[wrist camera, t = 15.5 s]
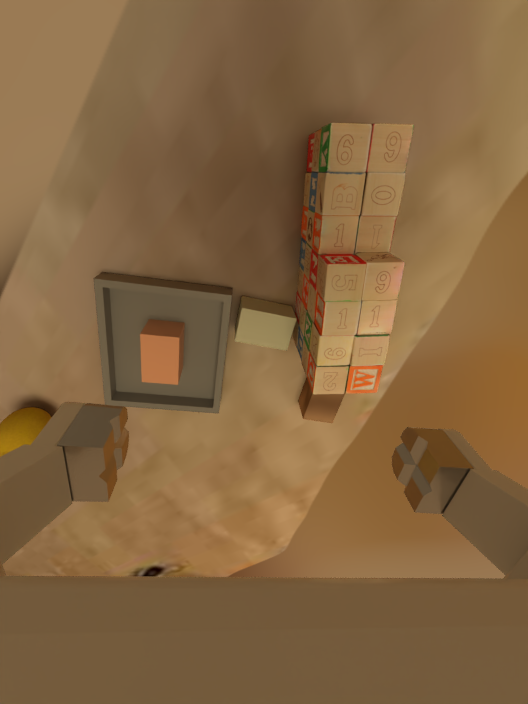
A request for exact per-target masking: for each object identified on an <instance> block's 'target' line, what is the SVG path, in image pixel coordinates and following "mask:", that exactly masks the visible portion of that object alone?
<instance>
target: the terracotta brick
mask: <svg viewBox="0 0 528 704" xmlns="http://www.w3.org/2000/svg"><path fill="white" fill-rule="evenodd" d="M184 327H185V323H183V322H173V321H163V320H154V319H149V320H148V322H147V323H146V325H145V327H144V328H143V330H142V332H141V333H140V345H141V374H142V382H149V383H161V384H174V385H178V383H179V380H180V376H181V373H182V369H183V356H184Z"/></svg>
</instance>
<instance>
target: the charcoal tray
mask: <svg viewBox="0 0 528 704" xmlns="http://www.w3.org/2000/svg"><path fill="white" fill-rule="evenodd" d="M94 289H95V300H96V311H97V322H98V333H99V344H100V355H101V366H102V377H103V388H104V399H105V405H112V406H125V407H138V408H152V409H165V410H179V411H192V412H206V413H219V407H220V398H221V390H222V381H223V372H224V363H225V354H226V345H227V336H228V327H229V318H230V309H231V300H232V288H226V287H218V286H210V285H202V284H194V283H186V282H178V281H170V280H162V279H154V278H146V277H138V276H130V275H122V274H114V273H106V272H102V273H100V274H99V275H98V276H96V277H95V278H94ZM149 319H154V320H163V321H173V322H183V323H185V327H184V356H183V369H182V373H181V376H180V380H179V383H178V385H174V384H161V383H149V382H142V374H141V345H140V333H141V332H142V330H143V328H144V327H145V325H146V323H147V322H148V320H149Z"/></svg>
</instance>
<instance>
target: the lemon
mask: <svg viewBox="0 0 528 704" xmlns="http://www.w3.org/2000/svg"><path fill="white" fill-rule="evenodd" d="M51 418H52V417H51V416H50V415H49V414H48V413H47V412H46V411H44V410H42V409H40V408H35V407H28V408H23V409H20V410H17V411H15V412H13V413H12V414H10V415H9V416H8V417H7V418H5V419H4V420H3V421H2V422H1V424H0V457H1V456H3V455H5V454H7V453H9V452H11V451H13V450H15V449H17V448H18V447H20V446H22V445H31V444H32V443H33V441H34V440H35V439H36V437H37V436H38V435H39V433H40V432H41V431H42V430H43V428H44V427H45V426H46V424H47V423H48V422H49V420H50V419H51Z"/></svg>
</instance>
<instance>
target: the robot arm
mask: <svg viewBox="0 0 528 704" xmlns="http://www.w3.org/2000/svg"><path fill="white" fill-rule="evenodd" d="M127 420H128V414H127V408H126V407H123V406H112V405H102V404H91V403H87V404H86V403H77V402H65V403H63V404H62V405H61V406H60V407H59V409H58V410H57V411H56V413H55V414H54V415H53V416H52V418H51V419H50V420H49V422H48V423H47V424H46V426H45V427H44V428H43V430H42V431H41V432H40V433H39V435H38V436H37V437H36V439H35V440H34V441H33V443H32V444H31V445H22V446H20V447H18V448H17V449H15V450H13V451H11V452H9V453H7V454H5V455H3V456H1V457H0V704H528V489H526V488H525V487H523V486H522V485H520V484H518V483H517V482H515V481H513V480H512V479H510V478H508V477H506V476H505V475H503V474H502V473H500V472H499V471H495V470H492V469H491V468H490V467H489V466H488V465H487V464H486V463H485V462H484V460H483V459H482V458H481V457H480V456H479V455H478V453H477V452H476V451H475V450H474V449H473V448H472V446H471V445H470V444H469V443H468V442H467V441H466V439H465V438H464V437H463V436H462V435H461V434H460V433H459V432H457V431H456V430H453V429H426V428H411V427H407V428H406V429H405V430H404V431H403V433H402V435H401V440H402V442H403V443H402V444H400V445H399V446H398V447H396V448H395V451H394V453H393V456H392V467H393V471H394V474H395V476H396V478H397V480H399V481H400V482H401V483H402V484H404V485H405V490H404V493H405V495H406V497H407V499H408V501H409V503H410V504H411V506H412V508H413V510H414V512H420V513H434V514H443V515H442V516H443V517H444V518H445V519H446V520H447V521H448V522H450V523H451V524H452V525H453V526H454V527H455V528H456V529H457V530H458V531H459V532H460V533H461V534H462V535H463V536H465V538H467V539H468V540H469V541H470V542H471V543H472V544H473V545H474V546H475V547H476V548H477V549H478V550H479V551H480V552H481V553H482V554H483V555H485V556H486V557H487V558H488V559H489V560H490V561H491V562H492V563H493V564H494V565H495V566H496V567H497V568H498V569H499V570H501V571H502V572H503V573H504V574H505V575H506V576H505V577H504V578H503V579H471V578H465V579H464V578H276V577H275V578H273V577H272V578H271V577H268V578H267V577H106V576H6V574H5V571H4V568H3V566H2V564H3V563H5V562H6V561H7V560H8V559H9V558H10V557H11V556H13V555H14V554H15V553H16V552H17V551H18V550H19V549H21V548H22V547H23V546H24V545H25V544H26V543H27V542H29V541H30V540H31V539H32V538H33V537H34V536H35V535H37V534H38V533H39V532H40V531H41V530H42V529H43V528H45V527H46V526H47V525H48V524H49V523H50V522H51V521H53V520H54V519H55V518H56V517H57V516H58V515H60V514H61V513H62V512H63V511H64V510H65V509H66V508H68V507H69V506H70V505H71V504H72V501H98V502H109V499H110V497H111V494H112V492H113V489H114V487H115V484H116V482H117V470H118V469H119V468H121V467H122V466H123V464H124V461H125V458H126V454H127V450H128V443H129V431H128V430H127V429H126V428H125V424H126V422H127Z"/></svg>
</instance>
